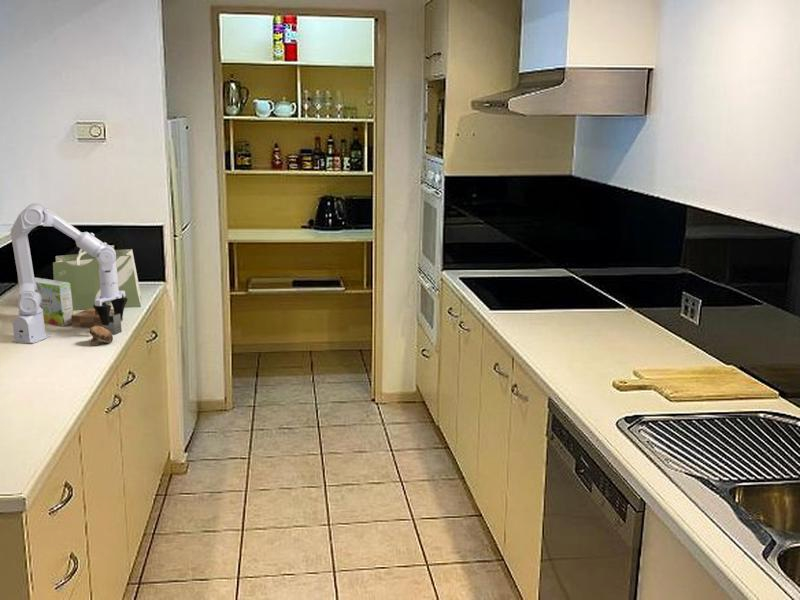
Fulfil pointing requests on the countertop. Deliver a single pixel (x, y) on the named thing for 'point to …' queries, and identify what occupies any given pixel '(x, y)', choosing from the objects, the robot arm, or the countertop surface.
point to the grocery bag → (96, 278)
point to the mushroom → (100, 335)
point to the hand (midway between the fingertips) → (112, 322)
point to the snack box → (55, 301)
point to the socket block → (88, 318)
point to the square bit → (114, 323)
